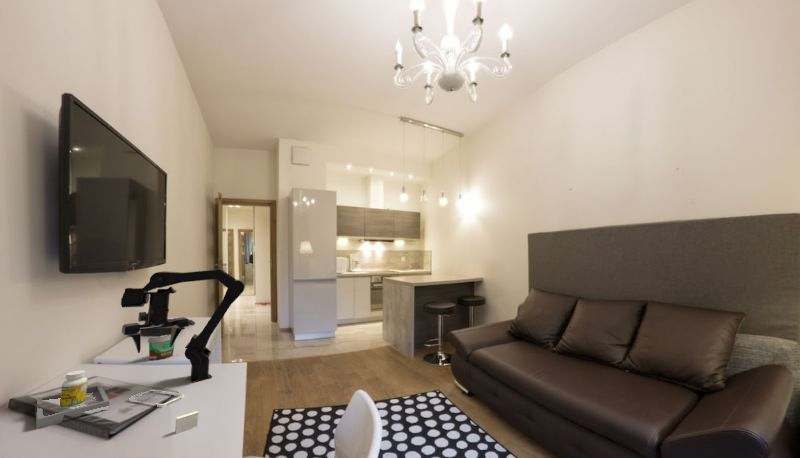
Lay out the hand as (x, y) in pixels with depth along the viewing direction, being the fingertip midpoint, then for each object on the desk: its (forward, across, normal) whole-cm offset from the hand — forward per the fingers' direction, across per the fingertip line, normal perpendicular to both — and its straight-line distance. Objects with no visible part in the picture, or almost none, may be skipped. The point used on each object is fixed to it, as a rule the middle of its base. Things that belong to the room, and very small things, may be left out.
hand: (155, 349), depth 111 cm
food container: (+12, -11, -32) cm, 36 cm away
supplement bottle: (+11, +20, +4) cm, 23 cm away
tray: (+12, +20, +4) cm, 24 cm away
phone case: (+13, +2, +15) cm, 20 cm away
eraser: (+12, +1, +42) cm, 44 cm away
